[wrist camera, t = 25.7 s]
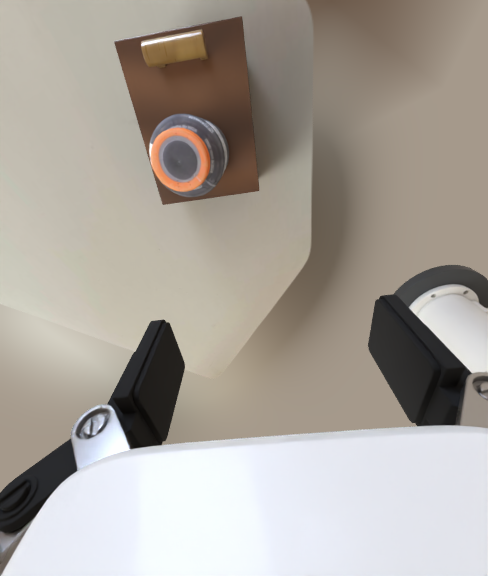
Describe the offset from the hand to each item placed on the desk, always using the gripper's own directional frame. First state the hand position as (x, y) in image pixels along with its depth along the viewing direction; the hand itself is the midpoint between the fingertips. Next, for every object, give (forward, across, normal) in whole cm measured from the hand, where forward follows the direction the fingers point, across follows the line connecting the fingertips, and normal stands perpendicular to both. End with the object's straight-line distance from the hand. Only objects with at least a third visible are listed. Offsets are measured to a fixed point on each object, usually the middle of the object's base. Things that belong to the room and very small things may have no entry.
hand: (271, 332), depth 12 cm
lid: (+22, +5, -9) cm, 25 cm away
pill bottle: (+22, +5, -7) cm, 24 cm away
